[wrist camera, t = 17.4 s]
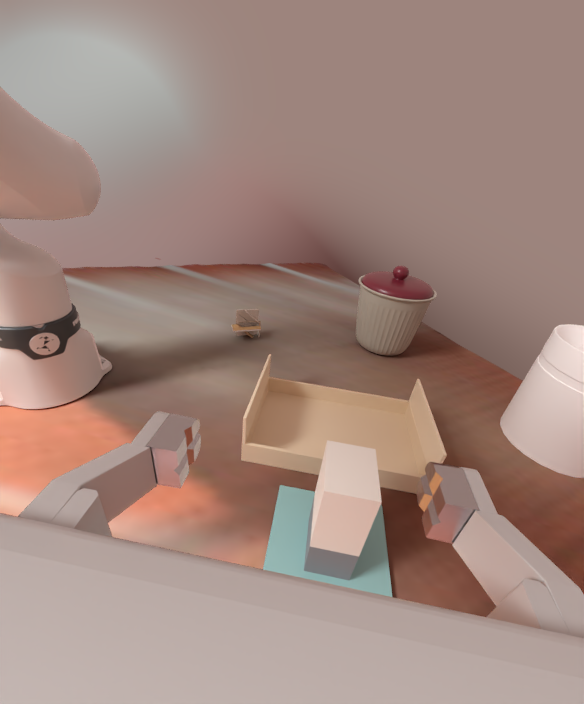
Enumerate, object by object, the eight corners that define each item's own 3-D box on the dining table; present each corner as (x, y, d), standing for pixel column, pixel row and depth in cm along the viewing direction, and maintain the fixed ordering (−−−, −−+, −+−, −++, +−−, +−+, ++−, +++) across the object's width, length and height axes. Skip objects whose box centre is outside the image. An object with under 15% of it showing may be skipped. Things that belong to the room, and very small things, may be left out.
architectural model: (261, 341, 79) (263, 314, 75) (233, 344, 77) (233, 316, 73) (257, 335, 82) (259, 309, 78) (231, 337, 79) (231, 310, 76)
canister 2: (486, 405, 65) (535, 318, 55) (567, 419, 64) (631, 333, 54) (524, 468, 52) (597, 367, 42) (627, 487, 51) (729, 388, 40)
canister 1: (331, 339, 83) (347, 259, 73) (372, 324, 94) (391, 253, 83) (388, 372, 72) (417, 284, 61) (428, 351, 83) (458, 273, 72)
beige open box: (425, 495, 45) (447, 455, 41) (241, 460, 47) (242, 417, 43) (405, 415, 60) (419, 379, 56) (265, 390, 62) (268, 353, 57)
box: (349, 580, 34) (381, 502, 27) (303, 570, 35) (323, 491, 27) (348, 526, 39) (375, 449, 32) (308, 518, 40) (327, 440, 33)
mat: (395, 639, 31) (396, 636, 31) (255, 608, 32) (255, 605, 31) (380, 507, 43) (381, 504, 43) (279, 487, 44) (280, 484, 43)
